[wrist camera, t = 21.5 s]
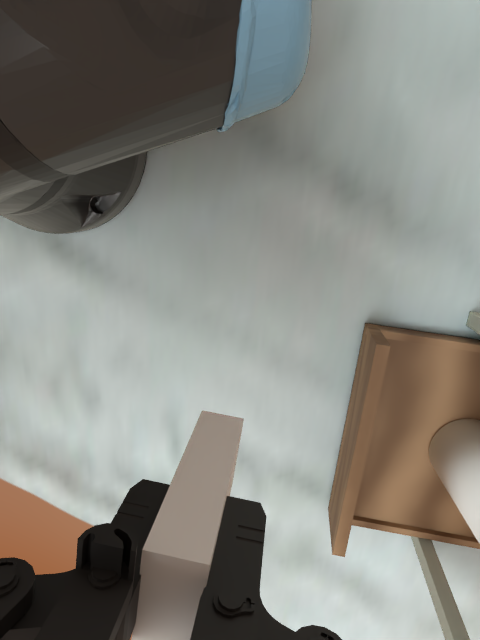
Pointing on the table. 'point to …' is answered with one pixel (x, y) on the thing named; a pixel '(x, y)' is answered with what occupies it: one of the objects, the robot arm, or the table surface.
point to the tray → (403, 435)
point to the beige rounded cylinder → (460, 467)
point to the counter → (433, 571)
